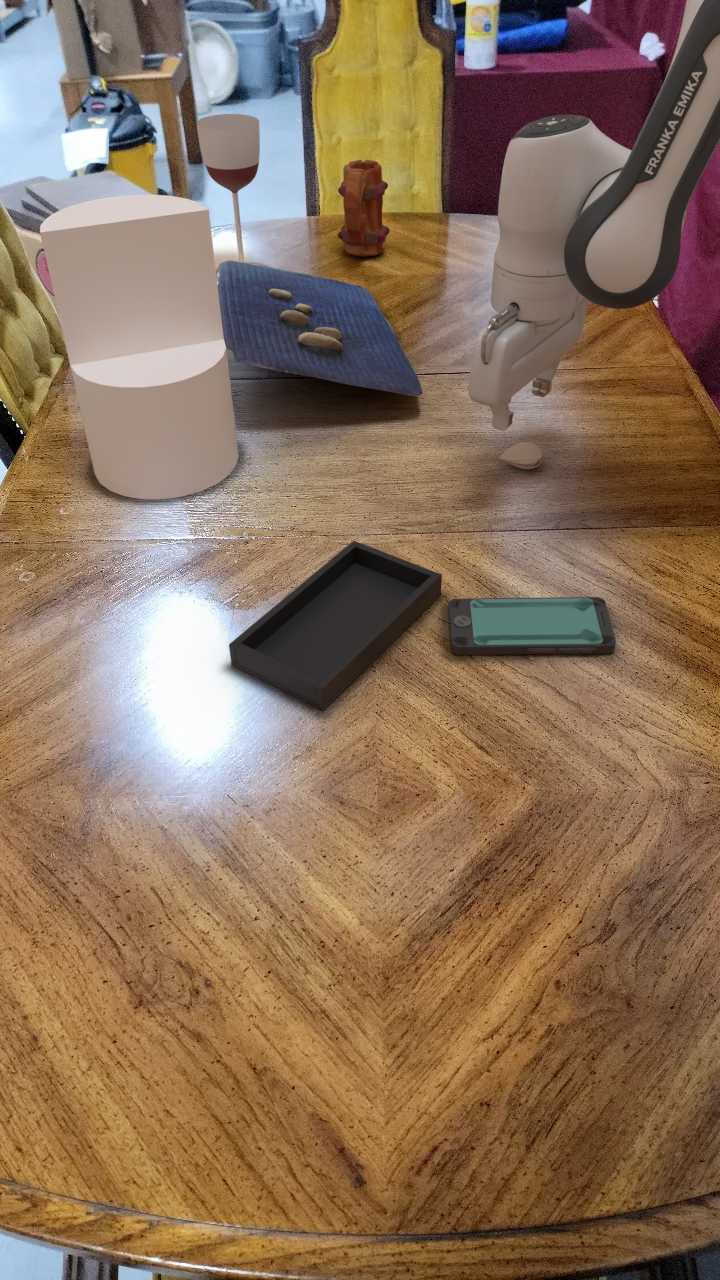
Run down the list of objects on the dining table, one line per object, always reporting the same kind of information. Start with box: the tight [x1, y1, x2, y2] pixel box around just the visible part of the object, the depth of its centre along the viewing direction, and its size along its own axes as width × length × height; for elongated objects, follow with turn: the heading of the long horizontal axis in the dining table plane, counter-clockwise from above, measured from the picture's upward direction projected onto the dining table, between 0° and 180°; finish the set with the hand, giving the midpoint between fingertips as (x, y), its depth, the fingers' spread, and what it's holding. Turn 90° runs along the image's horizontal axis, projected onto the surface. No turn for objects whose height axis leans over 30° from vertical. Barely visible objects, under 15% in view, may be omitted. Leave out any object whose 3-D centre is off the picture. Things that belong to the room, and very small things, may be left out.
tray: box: [228, 540, 443, 711], centre depth 94 cm, size 11×20×3 cm, turn 145°
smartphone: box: [448, 596, 617, 656], centre depth 94 cm, size 7×1×15 cm
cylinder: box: [39, 194, 240, 500], centre depth 110 cm, size 17×17×28 cm
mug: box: [337, 159, 391, 257], centre depth 165 cm, size 15×8×15 cm, turn 168°
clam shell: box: [498, 442, 543, 470], centre depth 116 cm, size 4×5×2 cm
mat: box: [217, 260, 423, 397], centre depth 141 cm, size 45×27×12 cm, turn 10°
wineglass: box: [196, 113, 262, 279], centre depth 158 cm, size 9×10×23 cm
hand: (521, 410), depth 112 cm, fingers open, 8 cm apart
